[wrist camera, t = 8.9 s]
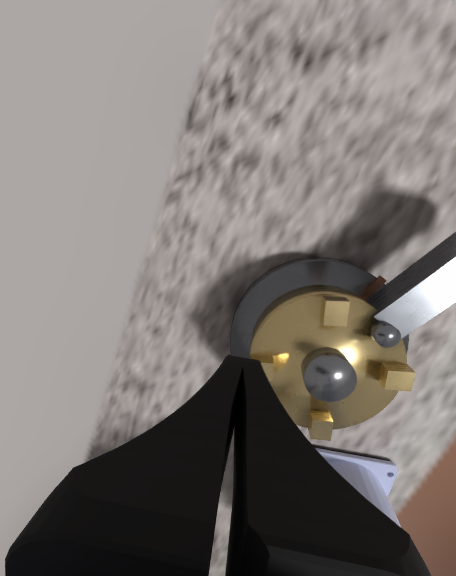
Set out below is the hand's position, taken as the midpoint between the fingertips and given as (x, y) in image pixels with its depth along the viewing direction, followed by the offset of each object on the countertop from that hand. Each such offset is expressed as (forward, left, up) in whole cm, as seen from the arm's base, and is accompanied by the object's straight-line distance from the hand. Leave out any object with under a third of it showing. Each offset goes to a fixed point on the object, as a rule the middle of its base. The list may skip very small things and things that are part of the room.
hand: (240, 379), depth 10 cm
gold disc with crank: (+1, -8, -8) cm, 11 cm away
